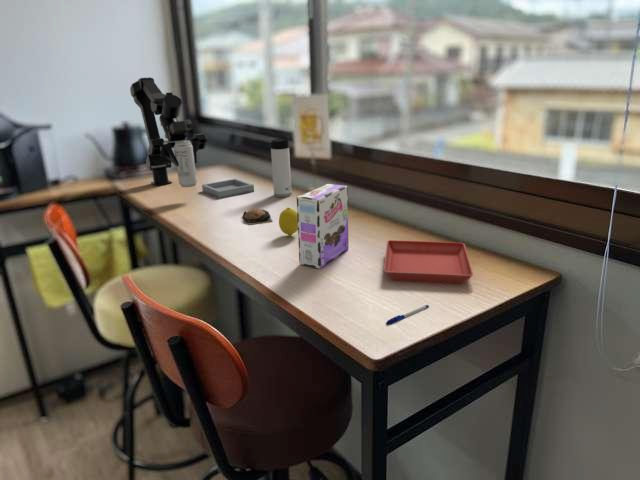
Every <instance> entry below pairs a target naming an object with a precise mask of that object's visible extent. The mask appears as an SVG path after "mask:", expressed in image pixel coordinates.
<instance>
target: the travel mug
mask: <svg viewBox="0 0 640 480" xmlns="http://www.w3.org/2000/svg"><path fill="white" fill-rule="evenodd" d="M290 139H291V138H290V137H281V138H276V139H273V140H271V141H270V155H271V156H270V157H271V168H272V170H271V171H272V172H271V173H272V183H273V196H274V197H276V198H287V197H290V196H292V194H293V193H292V175H291V159H290V158H291V156H290V144H289V141H290Z"/></svg>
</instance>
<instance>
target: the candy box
mask: <svg viewBox="0 0 640 480" xmlns="http://www.w3.org/2000/svg"><path fill="white" fill-rule="evenodd" d="M348 193H349V191H348V185H344V184H343V185H342V184H336V183H335V184H334V183H326V184H324V185H323V186H320V187H318V188H315V189H313V190H311V191H308V192H305V193H303V194H301V195H298V196H296V212H297V218H298V230H297V234H298V235H297V236H298V237H297V238H298V261H299V265H303V266H308V267H310V268H315V269H321V268H324V267H325V266H326V265H327V264H329V263H331V262H332V261H334V260H335V259H337V258H338V257H339V256H341V255H342V254H344V253H345V252H347V251H348V250H349V246H350V245H349V209H348V208H349V203H348V202H349V200H348V199H349V198H348Z"/></svg>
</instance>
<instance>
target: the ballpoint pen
mask: <svg viewBox="0 0 640 480" xmlns="http://www.w3.org/2000/svg"><path fill="white" fill-rule="evenodd" d="M429 307H430V305H423V306H421V307H417V308H416V309H413V310H412V311H409V312H407V313H404V314H398V315H396V316H394V317H391V318H390V319H388V320H387V321H386V323H385V325H387V326H390V325H391V324H395V323H397V322H398V321H401V320H403V319H406V318H408V317H410V316H413V315H414V314H417V313H420V312H421V311H423V310H426V309H428V308H429Z"/></svg>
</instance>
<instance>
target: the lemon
mask: <svg viewBox="0 0 640 480" xmlns="http://www.w3.org/2000/svg"><path fill="white" fill-rule="evenodd" d="M278 217H279V218H278V226H279V228H280V231H281V232H282V233H284V234H285V235H288V236H289V237H291V236H293V235H294V234H295V233H296V232H298V218H297V210H295V209H294V208H291V207H289V206H288V207H286V208H285V209H283V210H282V211H281V212H280V214H279V216H278Z"/></svg>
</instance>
